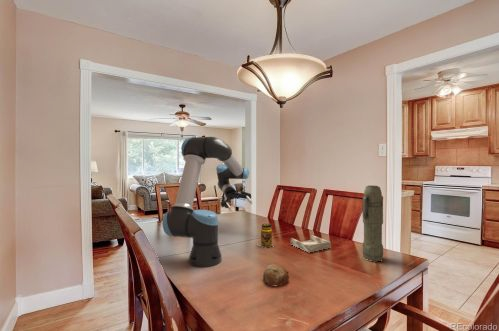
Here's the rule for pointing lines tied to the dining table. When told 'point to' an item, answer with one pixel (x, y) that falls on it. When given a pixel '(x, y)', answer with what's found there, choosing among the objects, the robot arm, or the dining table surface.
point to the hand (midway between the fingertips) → (241, 205)
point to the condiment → (266, 235)
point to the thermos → (372, 223)
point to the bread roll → (275, 275)
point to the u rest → (311, 244)
